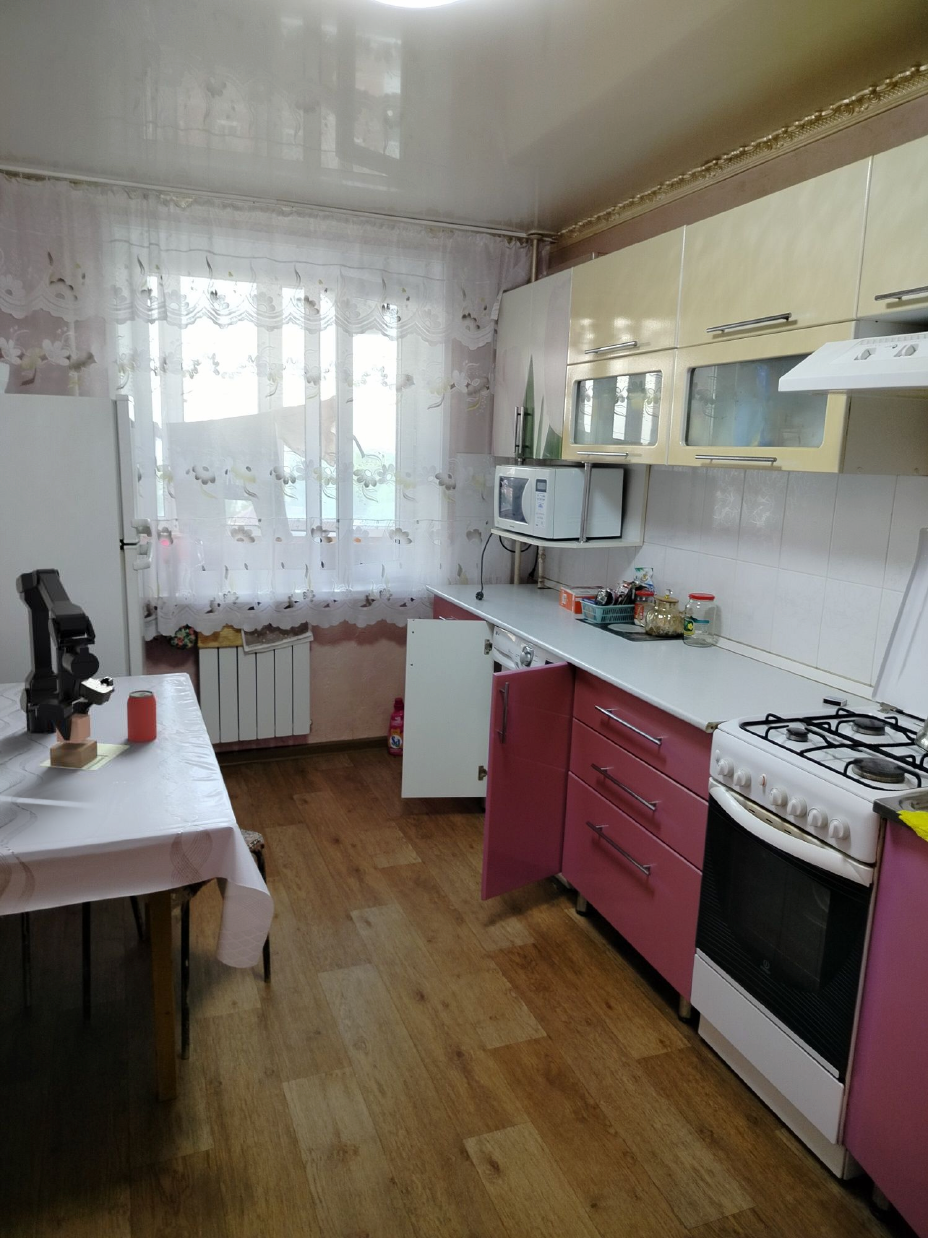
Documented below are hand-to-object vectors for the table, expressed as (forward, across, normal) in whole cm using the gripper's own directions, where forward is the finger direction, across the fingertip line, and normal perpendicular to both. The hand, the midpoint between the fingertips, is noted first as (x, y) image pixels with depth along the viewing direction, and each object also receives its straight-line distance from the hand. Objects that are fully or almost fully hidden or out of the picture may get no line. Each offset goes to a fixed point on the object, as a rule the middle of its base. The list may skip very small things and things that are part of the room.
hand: (73, 736), depth 187 cm
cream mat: (+7, +4, 0) cm, 8 cm away
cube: (0, 0, 0) cm, 1 cm away
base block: (+6, 0, 0) cm, 6 cm away
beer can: (+7, +18, -7) cm, 21 cm away
